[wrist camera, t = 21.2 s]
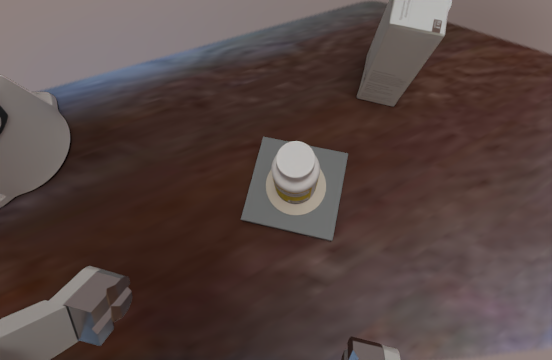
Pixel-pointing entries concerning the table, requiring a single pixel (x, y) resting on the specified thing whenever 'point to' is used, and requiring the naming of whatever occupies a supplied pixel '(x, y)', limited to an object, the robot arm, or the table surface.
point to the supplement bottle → (295, 172)
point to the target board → (296, 217)
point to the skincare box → (402, 47)
